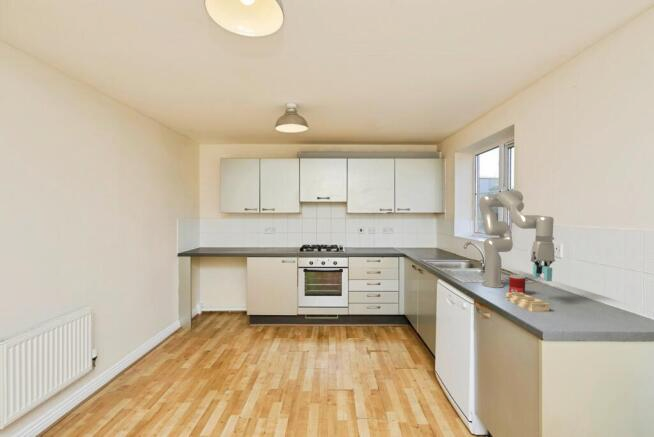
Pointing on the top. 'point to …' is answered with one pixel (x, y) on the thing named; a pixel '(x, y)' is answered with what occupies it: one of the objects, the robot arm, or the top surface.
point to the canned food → (517, 284)
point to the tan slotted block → (527, 302)
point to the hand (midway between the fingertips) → (542, 273)
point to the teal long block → (545, 270)
